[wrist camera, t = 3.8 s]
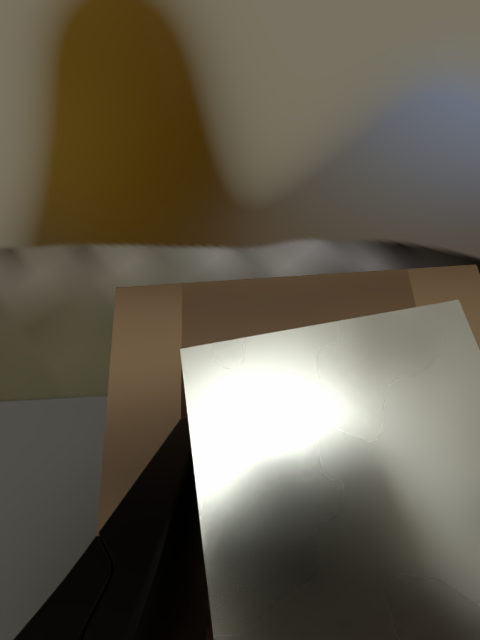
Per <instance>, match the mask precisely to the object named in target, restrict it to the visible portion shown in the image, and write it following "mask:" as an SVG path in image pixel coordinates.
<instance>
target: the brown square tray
mask: <svg viewBox="0 0 480 640" xmlns="http://www.w3.org/2000/svg"><path fill="white" fill-rule="evenodd" d="M454 300H459V302H460V304H461V307H462V309H463V311H464V314H465V316H466V319H467V321H468V323H469V326H470V328H471V331H472V333H473V335H474V338H475V340H476V343H477V345H478V347H479V350H480V275H479V271H478V268H477V265H463V266H448V267H432V268H416V269H400V270H384V271H369V272H353V273H337V274H321V275H306V276H290V277H274V278H258V279H242V280H227V281H211V282H195V283H179V284H164V285H148V286H132V287H116V296H115V309H114V321H113V334H112V346H111V359H110V371H109V384H108V397H107V409H106V422H105V434H104V447H103V460H102V472H101V485H100V497H99V510H98V523H97V535H96V536H99V535H98V533H99V531H100V530H101V528H102V527H103V525H104V524H105V523H106V521H107V520H108V518H109V517H110V516H111V514H112V513H113V512H114V510H115V509H116V507H117V506H118V505H119V503H120V502H121V500H122V499H123V498H124V496H125V495H126V494H127V492H128V491H129V489H130V488H131V487H132V485H133V484H134V482H135V481H136V480H137V478H138V477H139V475H140V474H141V473H142V471H143V470H144V469H145V467H146V466H147V464H148V463H149V462H150V460H151V459H152V457H153V456H154V455H155V453H156V452H157V451H158V449H159V448H160V446H161V445H162V444H163V442H164V441H165V439H166V438H167V437H168V435H169V434H170V432H171V431H172V430H173V428H174V427H175V426H176V424H177V423H178V421H179V420H180V419H181V418H182V417H186V416H188V414H187V406H186V397H185V388H184V380H183V371H182V363H181V354H180V349H182V348H188V347H194V346H199V345H205V344H211V343H216V342H222V341H228V340H233V339H239V338H245V337H250V336H256V335H262V334H267V333H273V332H279V331H284V330H290V329H296V328H301V327H307V326H312V325H318V324H324V323H329V322H335V321H341V320H346V319H352V318H358V317H363V316H369V315H375V314H380V313H386V312H392V311H397V310H403V309H409V308H414V307H420V306H426V305H431V304H437V303H443V302H448V301H454ZM206 640H214V638H213V630H212V621H211V612H210V604H209V595H208V604H207V626H206Z"/></svg>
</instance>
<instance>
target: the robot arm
mask: <svg viewBox="0 0 480 640" xmlns="http://www.w3.org/2000/svg"><path fill="white" fill-rule="evenodd" d="M98 535H99V536H95V538H94V539H93V540H92V542H91V543H90V545H89V546H88V547H87V549H86V550H85V552H84V553H83V554H82V556H81V557H80V558H79V560H78V561H77V562H76V563H75V565H74V566H73V567H72V569H71V570H70V571H69V573H68V574H67V575H66V577H65V578H64V579H63V581H62V582H61V583H60V584H59V585H58V587H57V588H56V589H55V590H54V592H53V593H52V594H51V595H50V596H49V598H48V599H47V600H46V601H45V603H44V604H43V605H42V606H41V607H40V609H39V610H38V611H37V612H36V613H35V615H34V616H33V617H32V618H31V619H30V620H29V622H28V623H27V624H26V625H25V626H24V628H23V629H22V630H21V631H20V632H19V633H18V635H17V636H16V637H15V638H14V639H13V640H206V626H207V604H208V586H207V578H206V569H205V561H204V552H203V543H202V535H201V526H200V518H199V509H198V500H197V492H196V483H195V474H194V466H193V457H192V449H191V440H190V431H189V423H188V416H186V417H182V418H181V419H180V420H179V421H178V423H177V424H176V426H175V427H174V428H173V430H172V431H171V432H170V434H169V435H168V437H167V438H166V439H165V441H164V442H163V444H162V445H161V446H160V448H159V449H158V451H157V452H156V453H155V455H154V456H153V457H152V459H151V460H150V462H149V463H148V464H147V466H146V467H145V469H144V470H143V471H142V473H141V474H140V475H139V477H138V478H137V480H136V481H135V482H134V484H133V485H132V487H131V488H130V489H129V491H128V492H127V494H126V495H125V496H124V498H123V499H122V500H121V502H120V503H119V505H118V506H117V507H116V509H115V510H114V512H113V513H112V514H111V516H110V517H109V518H108V520H107V521H106V523H105V524H104V525H103V527H102V528H101V530H100V531H99V533H98Z"/></svg>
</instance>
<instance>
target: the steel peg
mask: <svg viewBox="0 0 480 640" xmlns="http://www.w3.org/2000/svg"><path fill="white" fill-rule="evenodd" d="M180 354H181V363H182V371H183V380H184V388H185V397H186V406H187V414H188V423H189V431H190V440H191V449H192V457H193V466H194V474H195V483H196V492H197V500H198V509H199V518H200V526H201V535H202V543H203V552H204V561H205V569H206V578H207V586H208V595H209V604H210V612H211V621H212V630H213V638H214V640H480V350H479V347H478V345H477V343H476V340H475V338H474V335H473V333H472V331H471V328H470V326H469V323H468V321H467V319H466V316H465V314H464V311H463V309H462V307H461V304H460V302H459V300H454V301H448V302H443V303H437V304H431V305H426V306H420V307H414V308H409V309H403V310H397V311H392V312H386V313H380V314H375V315H369V316H363V317H358V318H352V319H346V320H341V321H335V322H329V323H324V324H318V325H312V326H307V327H301V328H296V329H290V330H284V331H279V332H273V333H267V334H262V335H256V336H250V337H245V338H239V339H233V340H228V341H222V342H216V343H211V344H205V345H199V346H194V347H188V348H182V349H180Z"/></svg>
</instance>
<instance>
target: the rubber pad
mask: <svg viewBox="0 0 480 640" xmlns="http://www.w3.org/2000/svg"><path fill="white" fill-rule="evenodd" d="M107 397H108V396H97V397H78V398H60V399H42V400H24V401H6V402H0V640H13V639H14V638H15V637H16V636H17V635H18V633H19V632H20V631H21V630H22V629H23V628H24V626H25V625H26V624H27V623H28V622H29V620H30V619H31V618H32V617H33V616H34V615H35V613H36V612H37V611H38V610H39V609H40V607H41V606H42V605H43V604H44V603H45V601H46V600H47V599H48V598H49V596H50V595H51V594H52V593H53V592H54V590H55V589H56V588H57V587H58V585H59V584H60V583H61V582H62V581H63V579H64V578H65V577H66V575H67V574H68V573H69V571H70V570H71V569H72V567H73V566H74V565H75V563H76V562H77V561H78V560H79V558H80V557H81V556H82V554H83V553H84V552H85V550H86V549H87V547H88V546H89V545H90V543H91V542H92V540H93V539H94V538H95V536H96V535H97V523H98V510H99V497H100V485H101V472H102V460H103V447H104V434H105V422H106V409H107Z"/></svg>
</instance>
